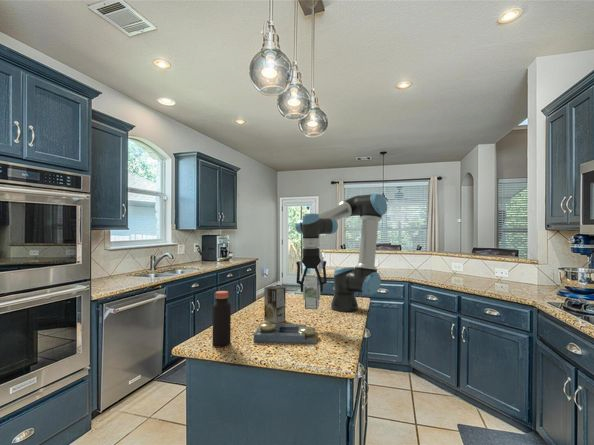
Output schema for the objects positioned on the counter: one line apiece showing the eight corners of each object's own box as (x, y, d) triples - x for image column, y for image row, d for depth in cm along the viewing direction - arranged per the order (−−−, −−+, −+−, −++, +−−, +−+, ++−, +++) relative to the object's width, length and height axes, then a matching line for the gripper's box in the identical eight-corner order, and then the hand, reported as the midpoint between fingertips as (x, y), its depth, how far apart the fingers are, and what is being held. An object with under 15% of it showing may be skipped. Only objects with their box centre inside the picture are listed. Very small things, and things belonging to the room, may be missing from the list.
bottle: (211, 342, 123) (211, 291, 123) (228, 340, 125) (229, 289, 126) (213, 348, 117) (214, 294, 117) (232, 346, 119) (232, 292, 120)
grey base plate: (315, 331, 136) (315, 323, 136) (315, 344, 121) (315, 335, 121) (274, 331, 137) (274, 322, 137) (268, 343, 122) (268, 334, 122)
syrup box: (319, 306, 144) (318, 274, 144) (317, 309, 138) (316, 276, 138) (307, 306, 145) (306, 274, 145) (304, 309, 139) (303, 276, 139)
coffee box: (286, 320, 153) (286, 287, 154) (276, 323, 148) (276, 289, 149) (273, 317, 159) (273, 285, 160) (263, 319, 155) (263, 286, 155)
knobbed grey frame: (306, 331, 136) (306, 320, 137) (304, 344, 121) (304, 330, 122) (260, 330, 138) (260, 319, 138) (253, 342, 123) (253, 329, 123)
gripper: (289, 248, 139) (289, 301, 138) (332, 248, 137) (333, 301, 137) (290, 247, 146) (291, 297, 146) (332, 247, 145) (332, 297, 145)
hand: (311, 299), depth 141 cm, fingers closed on syrup box, 6 cm apart
